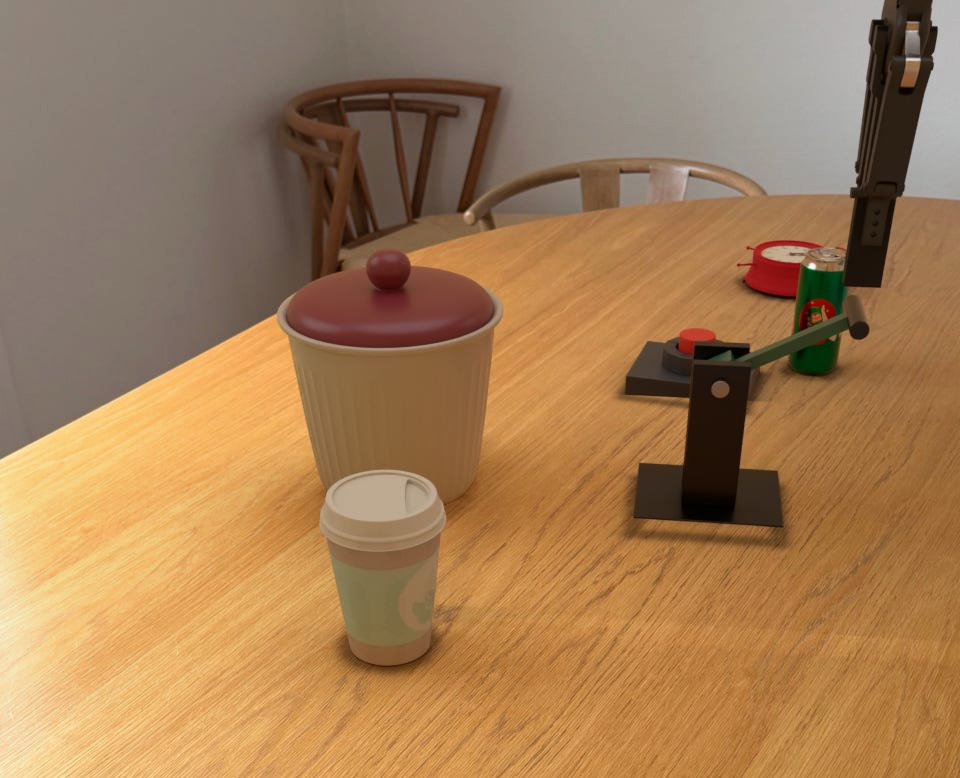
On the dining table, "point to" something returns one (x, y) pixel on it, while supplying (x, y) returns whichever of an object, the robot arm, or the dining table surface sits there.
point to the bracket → (712, 453)
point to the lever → (809, 335)
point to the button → (694, 339)
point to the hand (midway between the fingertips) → (861, 283)
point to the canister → (394, 369)
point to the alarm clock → (777, 266)
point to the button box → (665, 371)
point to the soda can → (819, 308)
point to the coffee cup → (385, 561)
